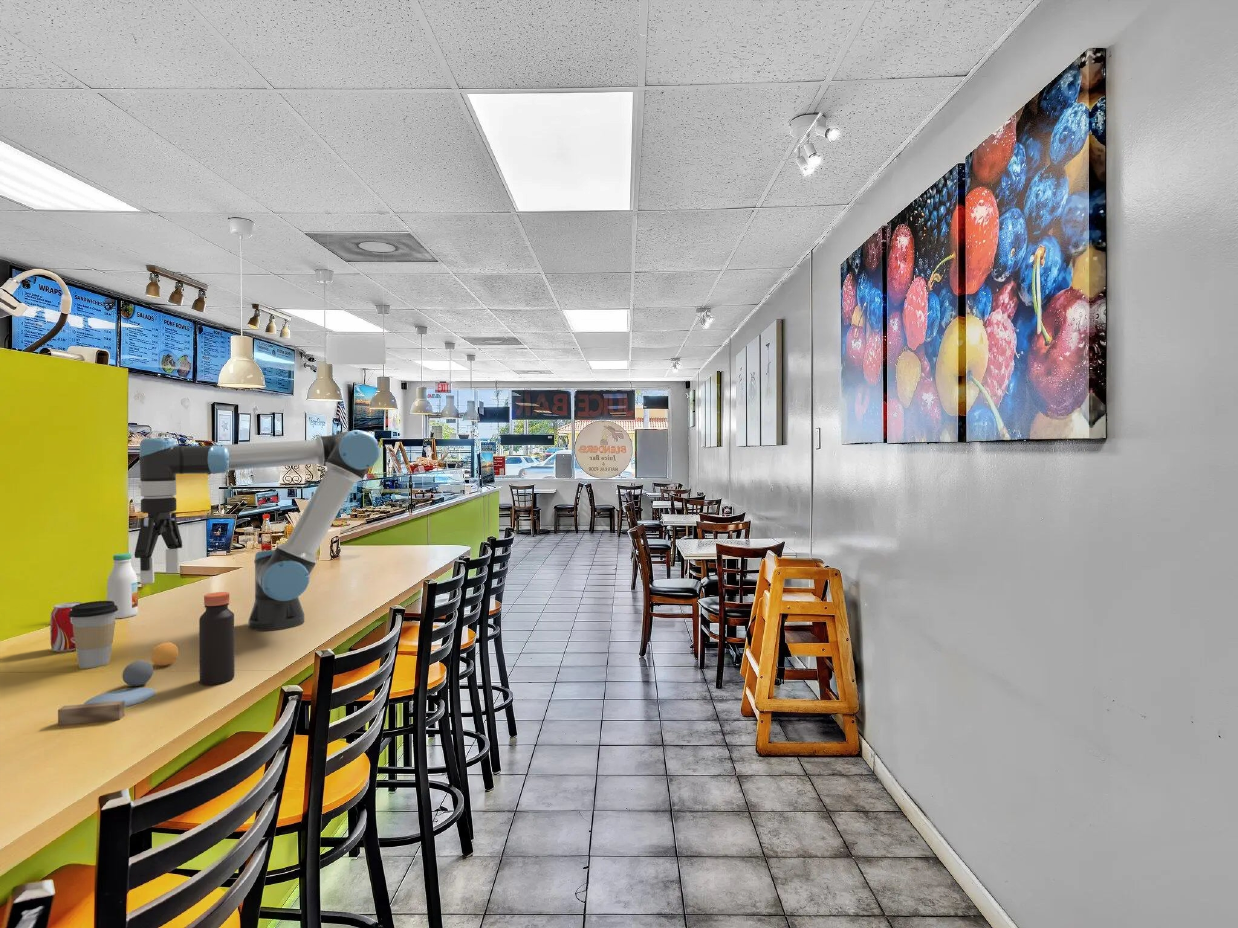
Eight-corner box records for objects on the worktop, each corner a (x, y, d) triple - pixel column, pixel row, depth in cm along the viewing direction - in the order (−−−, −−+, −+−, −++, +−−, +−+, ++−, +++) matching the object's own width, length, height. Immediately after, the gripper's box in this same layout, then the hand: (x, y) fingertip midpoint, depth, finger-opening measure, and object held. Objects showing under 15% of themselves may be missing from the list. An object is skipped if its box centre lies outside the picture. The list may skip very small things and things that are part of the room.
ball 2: (182, 660, 156) (182, 638, 156) (173, 667, 151) (173, 645, 151) (157, 662, 155) (156, 640, 154) (146, 669, 149) (146, 647, 149)
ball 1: (157, 679, 143) (157, 656, 143) (146, 688, 137) (146, 664, 137) (129, 682, 141) (129, 658, 141) (117, 691, 136) (117, 666, 136)
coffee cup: (127, 660, 156) (127, 601, 156) (84, 673, 147) (84, 610, 147) (102, 656, 159) (102, 598, 159) (59, 668, 150) (58, 607, 150)
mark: (165, 685, 139) (165, 685, 139) (139, 706, 127) (139, 705, 127) (101, 691, 136) (101, 690, 136) (69, 713, 124) (69, 712, 124)
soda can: (64, 654, 160) (64, 608, 160) (43, 652, 162) (42, 606, 162) (92, 646, 167) (92, 602, 167) (72, 644, 169) (71, 600, 169)
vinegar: (210, 675, 146) (210, 591, 146) (240, 674, 146) (240, 590, 146) (192, 685, 139) (192, 597, 139) (223, 685, 139) (223, 597, 139)
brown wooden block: (124, 715, 123) (124, 700, 123) (119, 719, 121) (119, 704, 121) (64, 720, 121) (64, 705, 120) (58, 725, 119) (57, 709, 119)
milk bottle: (124, 619, 194) (124, 556, 194) (100, 619, 195) (100, 555, 194) (143, 613, 202) (143, 552, 202) (120, 612, 202) (120, 552, 202)
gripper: (164, 494, 173) (166, 569, 173) (115, 501, 149) (117, 588, 149) (195, 493, 175) (196, 568, 175) (151, 500, 150) (153, 586, 151)
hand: (160, 577), depth 162 cm, fingers open, 13 cm apart
